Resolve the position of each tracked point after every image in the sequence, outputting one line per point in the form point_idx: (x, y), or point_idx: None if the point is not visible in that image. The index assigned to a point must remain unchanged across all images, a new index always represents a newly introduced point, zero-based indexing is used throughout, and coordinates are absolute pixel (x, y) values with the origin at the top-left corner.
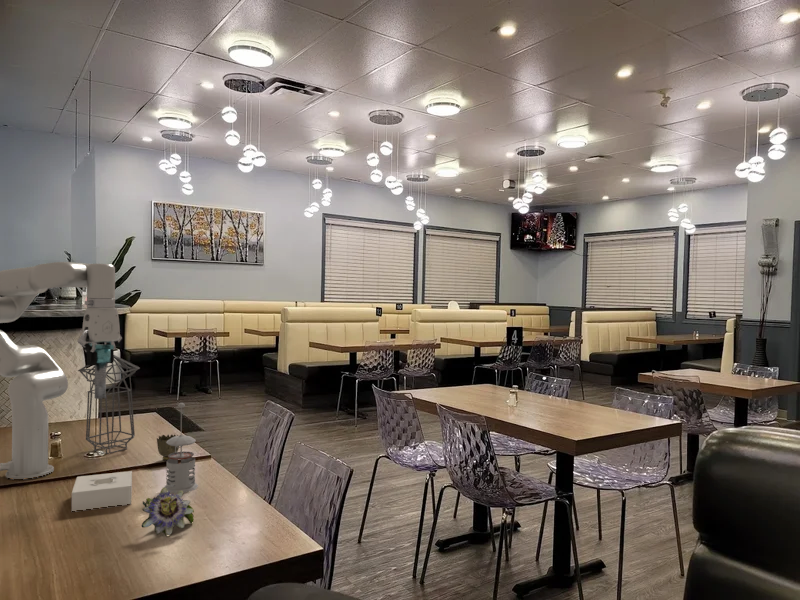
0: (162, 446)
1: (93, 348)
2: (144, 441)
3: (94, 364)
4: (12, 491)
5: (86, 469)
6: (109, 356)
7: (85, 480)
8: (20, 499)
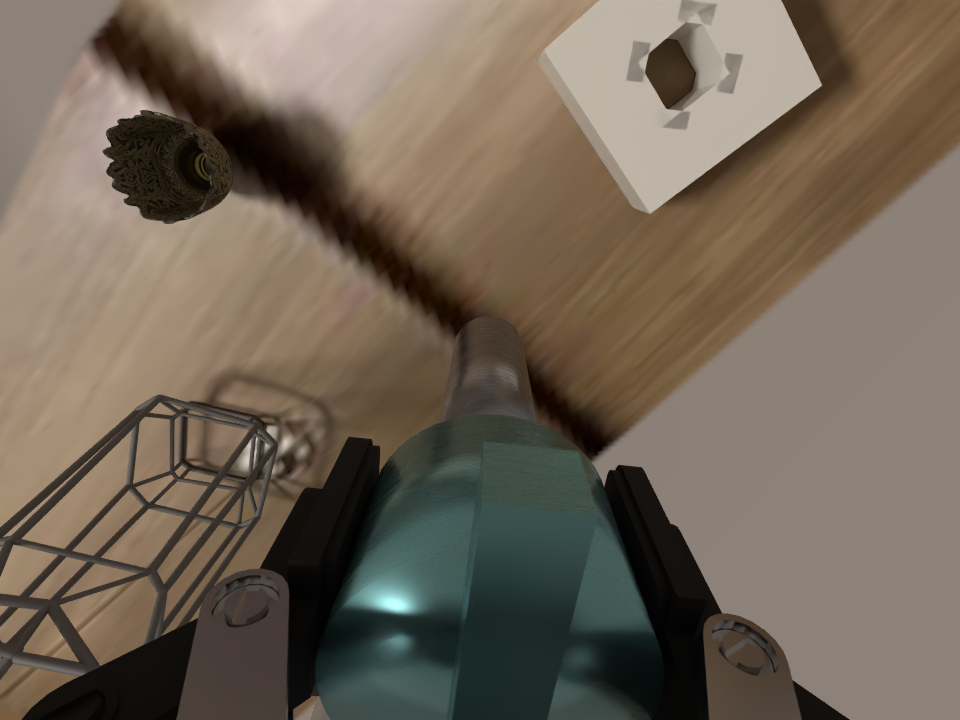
0: (221, 165)
1: (756, 678)
2: (85, 413)
3: (642, 473)
4: (639, 405)
5: (415, 365)
6: (456, 461)
7: (684, 148)
8: (695, 334)
